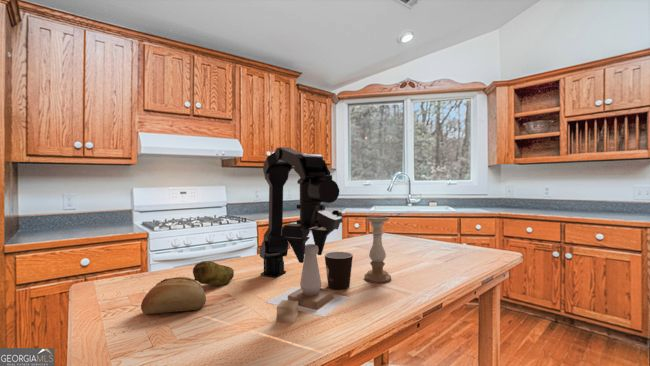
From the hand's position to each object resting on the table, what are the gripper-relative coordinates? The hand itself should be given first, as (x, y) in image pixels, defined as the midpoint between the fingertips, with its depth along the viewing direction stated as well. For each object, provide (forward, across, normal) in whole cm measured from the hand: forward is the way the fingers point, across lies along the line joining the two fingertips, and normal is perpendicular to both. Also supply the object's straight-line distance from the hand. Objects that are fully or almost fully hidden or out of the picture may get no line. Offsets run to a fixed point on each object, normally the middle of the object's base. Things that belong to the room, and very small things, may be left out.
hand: (310, 258), depth 84 cm
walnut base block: (+11, 0, 0) cm, 11 cm away
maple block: (+12, -12, -1) cm, 17 cm away
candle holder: (+12, +27, -9) cm, 31 cm away
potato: (+12, -3, +34) cm, 36 cm away
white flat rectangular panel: (+12, 0, +1) cm, 12 cm away
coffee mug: (+12, +15, -1) cm, 19 cm away
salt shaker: (+10, 0, 0) cm, 10 cm away
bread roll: (+12, -21, +28) cm, 37 cm away
